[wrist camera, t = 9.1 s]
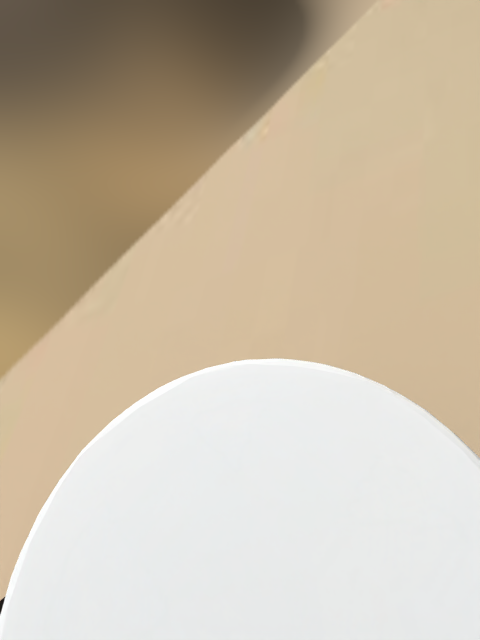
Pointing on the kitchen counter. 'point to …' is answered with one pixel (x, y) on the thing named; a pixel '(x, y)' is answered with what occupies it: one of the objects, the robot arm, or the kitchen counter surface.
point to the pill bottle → (258, 518)
